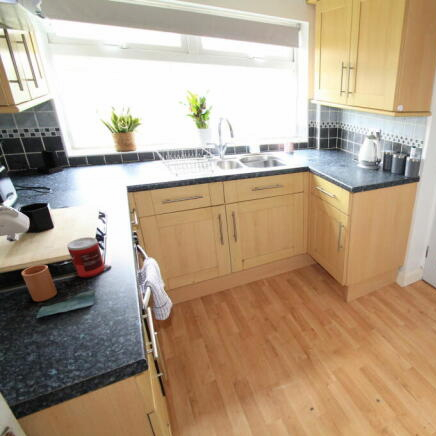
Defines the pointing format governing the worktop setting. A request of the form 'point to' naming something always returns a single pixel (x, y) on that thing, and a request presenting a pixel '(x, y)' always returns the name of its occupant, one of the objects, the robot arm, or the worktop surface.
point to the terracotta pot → (39, 282)
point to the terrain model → (69, 304)
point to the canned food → (86, 257)
